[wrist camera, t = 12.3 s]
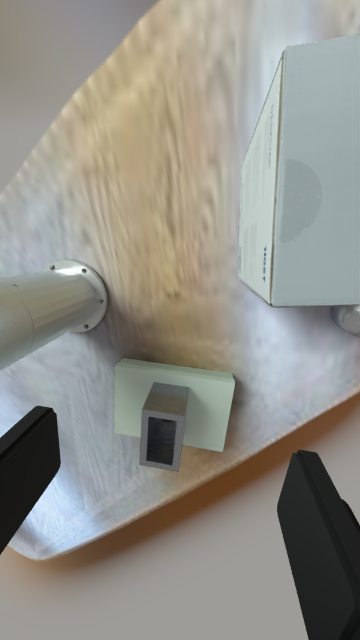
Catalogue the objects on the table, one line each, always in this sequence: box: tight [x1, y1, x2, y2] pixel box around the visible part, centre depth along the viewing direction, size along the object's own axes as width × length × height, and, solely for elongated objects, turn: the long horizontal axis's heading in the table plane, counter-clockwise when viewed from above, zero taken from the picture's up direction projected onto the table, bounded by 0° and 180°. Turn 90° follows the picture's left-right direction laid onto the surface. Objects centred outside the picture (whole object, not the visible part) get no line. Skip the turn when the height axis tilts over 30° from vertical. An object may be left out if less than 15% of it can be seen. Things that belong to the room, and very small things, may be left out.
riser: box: [114, 358, 235, 452], centre depth 42 cm, size 20×14×4 cm
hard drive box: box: [238, 34, 360, 308], centre depth 24 cm, size 16×8×20 cm, turn 3°
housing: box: [139, 382, 189, 472], centre depth 37 cm, size 10×6×7 cm, turn 175°
